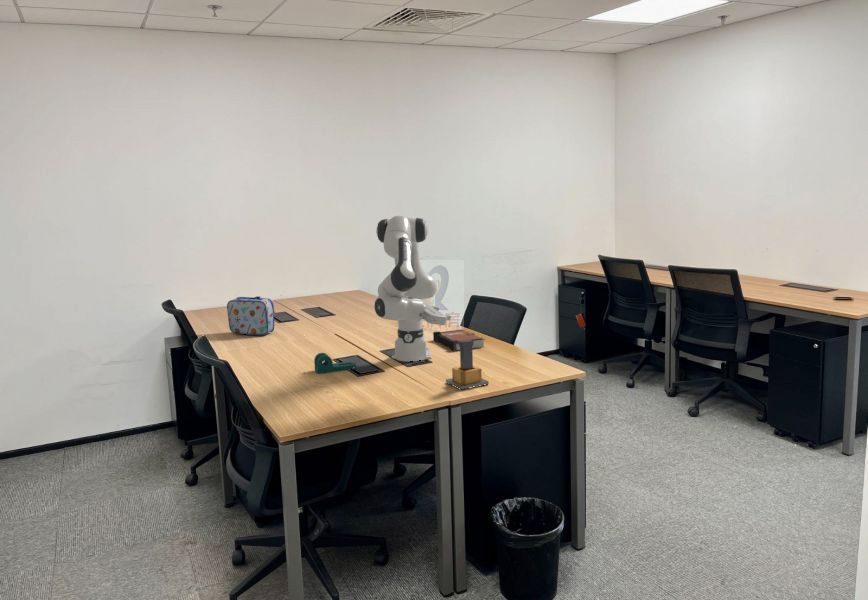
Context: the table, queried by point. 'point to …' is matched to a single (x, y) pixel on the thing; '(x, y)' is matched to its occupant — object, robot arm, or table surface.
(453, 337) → the book
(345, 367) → the bracket
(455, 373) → the frame on grey plate
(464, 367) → the tall dark grey post
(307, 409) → the table surface
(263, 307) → the lunch box
